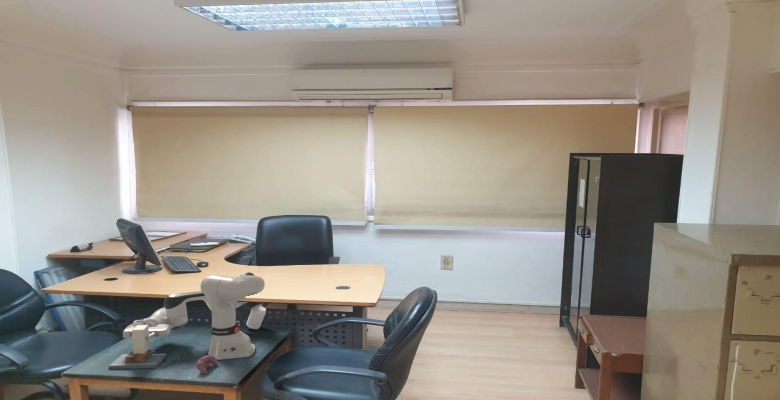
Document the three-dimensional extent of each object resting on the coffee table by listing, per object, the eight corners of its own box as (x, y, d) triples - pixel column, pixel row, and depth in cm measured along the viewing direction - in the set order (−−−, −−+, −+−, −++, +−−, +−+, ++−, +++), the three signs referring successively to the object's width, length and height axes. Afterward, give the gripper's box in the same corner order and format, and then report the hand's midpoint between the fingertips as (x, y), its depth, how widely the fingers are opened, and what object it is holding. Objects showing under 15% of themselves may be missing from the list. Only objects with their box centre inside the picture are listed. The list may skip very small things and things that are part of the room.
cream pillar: (149, 348, 196) (148, 324, 195) (144, 353, 192) (143, 329, 190) (138, 348, 196) (137, 325, 194) (133, 354, 191) (132, 329, 189)
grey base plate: (166, 356, 200) (166, 347, 199) (155, 367, 188) (155, 358, 188) (122, 357, 197) (122, 348, 197) (108, 368, 185) (108, 359, 185)
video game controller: (211, 367, 194) (205, 354, 194) (219, 364, 193) (213, 350, 193) (198, 377, 184) (192, 363, 184) (206, 374, 183) (200, 359, 183)
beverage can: (256, 331, 236) (264, 312, 235) (243, 326, 236) (251, 307, 235) (261, 326, 244) (268, 308, 243) (248, 321, 244) (256, 303, 243)
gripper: (174, 331, 208) (163, 344, 194) (131, 332, 205) (117, 345, 191) (174, 319, 207) (163, 331, 193) (131, 320, 204) (116, 333, 190)
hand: (140, 338), depth 192 cm, fingers closed on cream pillar, 5 cm apart
